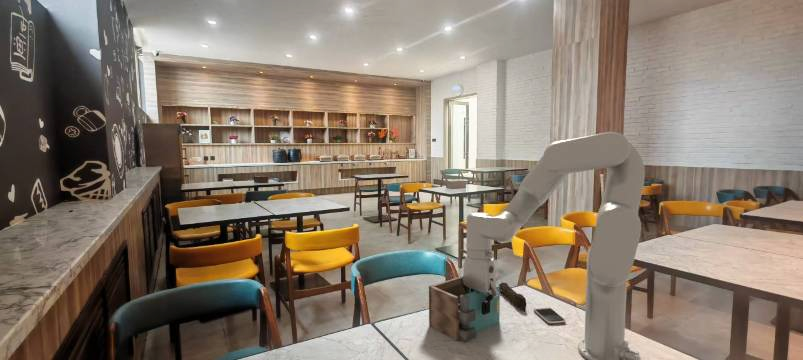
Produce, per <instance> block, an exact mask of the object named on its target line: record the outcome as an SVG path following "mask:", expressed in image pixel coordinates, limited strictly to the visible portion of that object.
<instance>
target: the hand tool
mask: <svg viewBox="0 0 803 360" xmlns="http://www.w3.org/2000/svg"><path fill="white" fill-rule="evenodd" d="M497 285H498V286H500V294H503V295H505V296H506V298H508V300H510V301H511V302H513V304H514V306H515V308H517V309H519V310H520V311H523V312H526V311H527V310H526V309H527V300H526V297H525V296H524V295H523V294H521V293H517V292H516V291H515V290H514V289H513V288H511V287H510V286H509V284H508V283H507V282H501V283H499V284H497ZM501 290H502V291H501Z"/></svg>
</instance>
